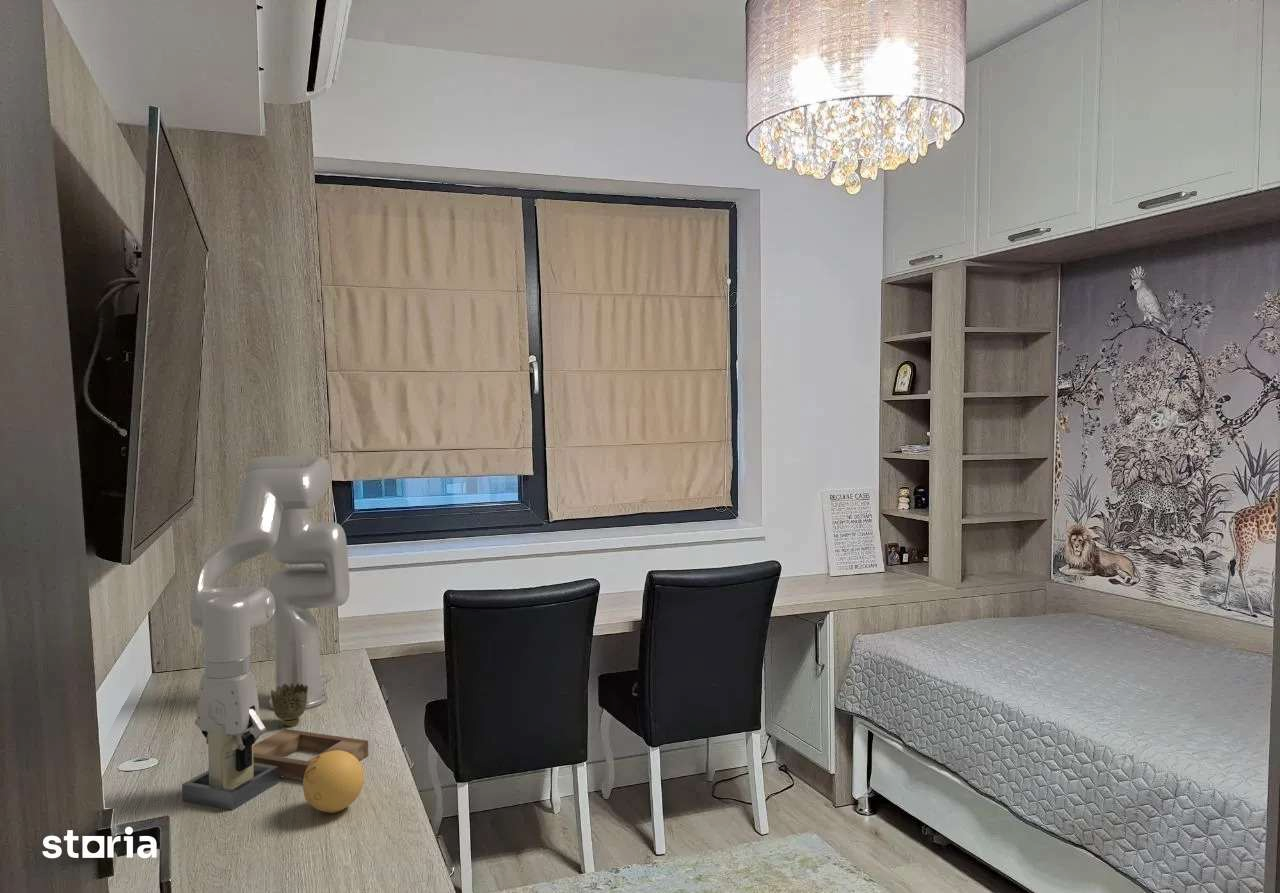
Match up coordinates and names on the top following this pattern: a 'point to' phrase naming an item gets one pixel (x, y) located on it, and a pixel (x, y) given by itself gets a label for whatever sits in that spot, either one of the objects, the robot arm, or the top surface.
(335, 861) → the top surface
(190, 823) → the top surface
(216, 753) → the skincare box
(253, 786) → the frame
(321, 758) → the stress ball
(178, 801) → the top surface
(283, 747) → the wooden tray frame
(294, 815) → the top surface
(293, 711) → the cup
